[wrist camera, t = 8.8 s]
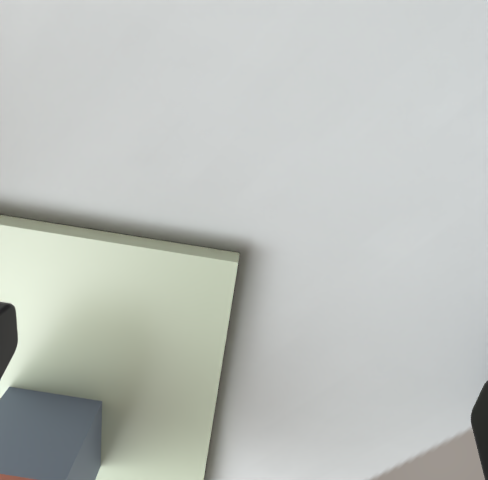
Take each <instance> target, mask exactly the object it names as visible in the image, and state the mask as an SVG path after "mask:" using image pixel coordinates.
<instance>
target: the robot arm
mask: <svg viewBox="0 0 488 480" xmlns="http://www.w3.org/2000/svg"><path fill="white" fill-rule="evenodd" d="M17 344H18V331H17V317H16V309H15V306H14V305H13V304H11V303H6V302H0V380H1V378H2V376H3V374H4V372H5V370H6V368H7V366H8V365H9V363H10V361H11V359H12V357H13V355H14V353H15V351H16V348H17ZM471 424H472V429H473V433H474V436H475V441H476V445H477V449H478V453H479V457H480V461H481V465H482V469H483V473H484V477H485V480H488V381H487V382H486V383H485V384H484V386H483V388H482V390H481V393H480V395H479V397H478V399H477V401H476V403H475V405H474V408H473V410H472V413H471Z"/></svg>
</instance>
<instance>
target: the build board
mask: <svg viewBox="0 0 488 480" xmlns="http://www.w3.org/2000/svg"><path fill="white" fill-rule="evenodd" d="M239 255H240V253H237V252H231V251H225V250H218V249H212V248H206V247H200V246H193V245H187V244H181V243H174V242H168V241H162V240H156V239H149V238H143V237H137V236H130V235H124V234H118V233H112V232H105V231H99V230H93V229H86V228H80V227H74V226H68V225H61V224H55V223H49V222H42V221H36V220H30V219H24V218H17V217H11V216H5V215H0V302H6V303H11V304H13V305H14V306H15V309H16V317H17V331H18V344H17V348H16V351H15V353H14V355H13V357H12V359H11V361H10V363H9V365H8V366H7V368H6V370H5V372H4V374H3V376H2V378H1V380H0V398H1V397H2V396H3V394H4V393H5V392H6V390H7V389H8V388H9V387H15V388H21V389H28V390H34V391H41V392H47V393H53V394H60V395H66V396H72V397H79V398H85V399H92V400H98V401H102V429H101V467H100V469H99V472H98V474H97V477H96V479H95V480H204V474H205V468H206V461H207V455H208V449H209V443H210V436H211V430H212V424H213V418H214V411H215V405H216V399H217V393H218V386H219V380H220V374H221V368H222V361H223V355H224V349H225V343H226V336H227V330H228V324H229V318H230V311H231V305H232V299H233V293H234V286H235V280H236V274H237V268H238V261H239Z"/></svg>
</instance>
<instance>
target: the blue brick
mask: <svg viewBox="0 0 488 480" xmlns="http://www.w3.org/2000/svg"><path fill="white" fill-rule="evenodd" d="M101 429H102V401H98V400H92V399H85V398H79V397H72V396H66V395H60V394H53V393H47V392H41V391H34V390H28V389H21V388H15V387H9V388H8V389H7V390H6V392H5V393H4V394H3V396H2V397H1V398H0V474H5V475H11V476H18V477H24V478H30V479H37V480H95V479H96V477H97V474H98V472H99V469H100V467H101Z"/></svg>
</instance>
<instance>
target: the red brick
mask: <svg viewBox="0 0 488 480" xmlns="http://www.w3.org/2000/svg"><path fill="white" fill-rule="evenodd" d="M0 480H37V479H30V478H24V477H18V476H11V475H5V474H0Z"/></svg>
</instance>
